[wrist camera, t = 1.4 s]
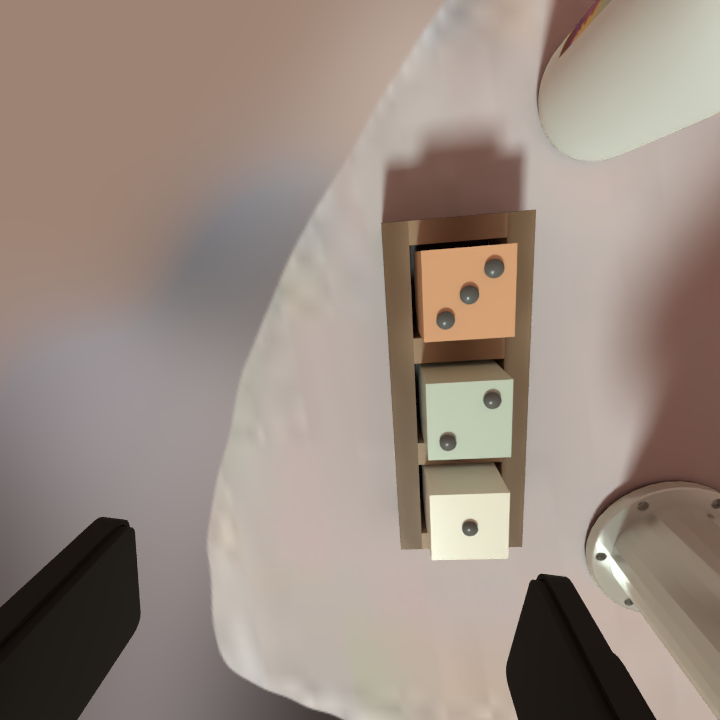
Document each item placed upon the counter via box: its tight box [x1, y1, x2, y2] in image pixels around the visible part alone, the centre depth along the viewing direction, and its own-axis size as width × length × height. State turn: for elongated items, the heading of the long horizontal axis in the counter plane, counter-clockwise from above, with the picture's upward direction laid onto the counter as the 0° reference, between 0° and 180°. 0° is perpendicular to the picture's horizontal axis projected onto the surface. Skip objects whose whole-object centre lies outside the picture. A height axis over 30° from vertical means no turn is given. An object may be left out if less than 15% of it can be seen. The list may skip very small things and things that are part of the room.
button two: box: [418, 359, 513, 460], centre depth 25 cm, size 5×5×5 cm
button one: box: [422, 462, 510, 560], centre depth 27 cm, size 5×5×5 cm
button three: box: [414, 243, 518, 342], centre depth 23 cm, size 5×5×5 cm
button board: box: [381, 210, 536, 549], centre depth 27 cm, size 9×24×4 cm, turn 4°
